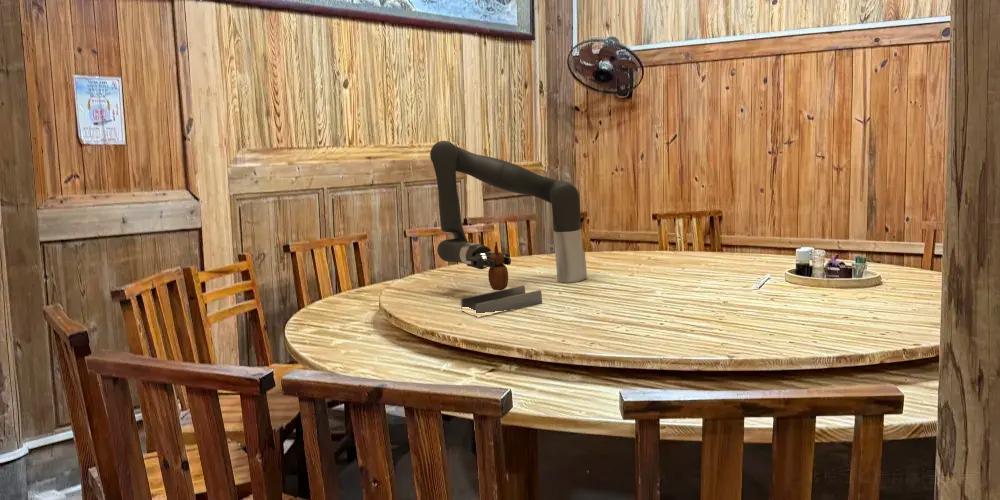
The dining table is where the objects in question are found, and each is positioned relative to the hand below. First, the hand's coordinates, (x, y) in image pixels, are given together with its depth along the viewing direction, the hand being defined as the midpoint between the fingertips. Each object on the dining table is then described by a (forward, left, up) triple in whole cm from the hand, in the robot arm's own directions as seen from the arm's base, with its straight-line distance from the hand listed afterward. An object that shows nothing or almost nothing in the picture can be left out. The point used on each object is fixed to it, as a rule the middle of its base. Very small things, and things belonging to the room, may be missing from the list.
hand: (501, 262), depth 250 cm
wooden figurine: (0, -3, -9) cm, 9 cm away
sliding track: (0, -3, -14) cm, 14 cm away
